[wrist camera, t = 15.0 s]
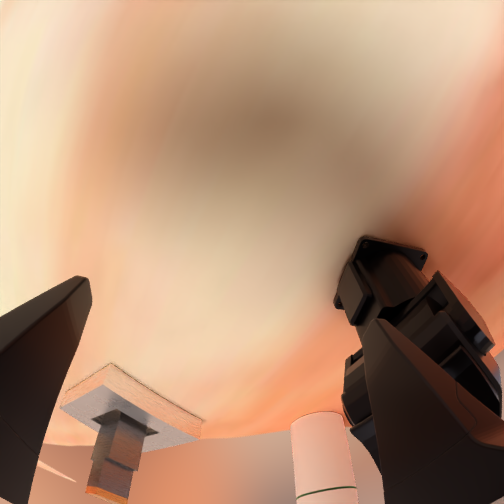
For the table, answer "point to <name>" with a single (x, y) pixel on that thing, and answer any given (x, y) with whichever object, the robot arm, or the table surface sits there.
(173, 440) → the silver square socket base
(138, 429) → the grey orange-tipped tall block
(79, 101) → the table surface
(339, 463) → the cylindrical container
